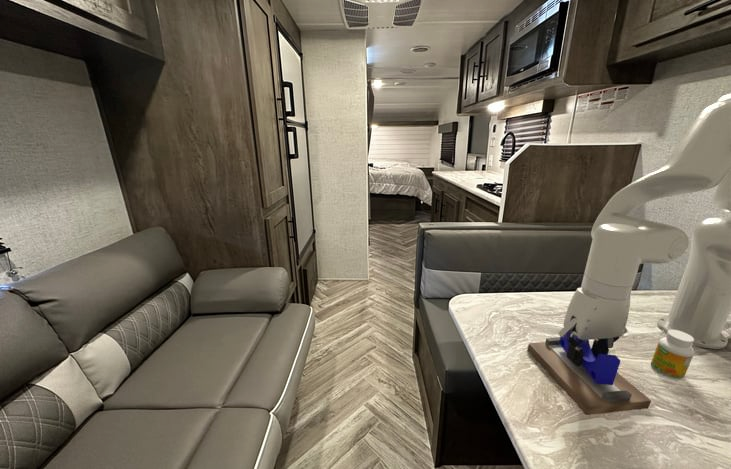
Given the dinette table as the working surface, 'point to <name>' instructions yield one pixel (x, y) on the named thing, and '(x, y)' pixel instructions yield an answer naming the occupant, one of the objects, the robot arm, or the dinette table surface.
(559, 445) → the dinette table surface
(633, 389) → the rail board
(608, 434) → the dinette table surface
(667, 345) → the supplement bottle
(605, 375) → the blue curved piece
